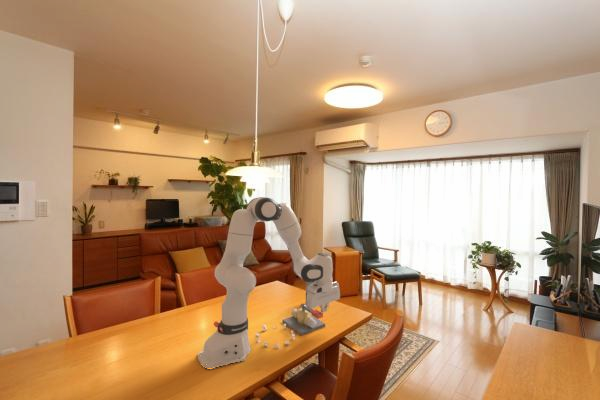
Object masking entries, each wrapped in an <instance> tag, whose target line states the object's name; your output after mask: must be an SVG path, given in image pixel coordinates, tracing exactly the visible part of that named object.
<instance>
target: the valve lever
mask: <svg viewBox="0 0 600 400" xmlns="http://www.w3.org/2000/svg"><path fill="white" fill-rule="evenodd" d="M300 308H303V309H305V310H306V311H308V312H310V315H312V316H313V317H315V318H317V319H318V320H320V319H322V318H323V317H324V312H323V313H322V312H321V310H320V311H319V310H318V309H314V308H310V307H308V306H307V304H306V303H301V304H300Z"/></svg>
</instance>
